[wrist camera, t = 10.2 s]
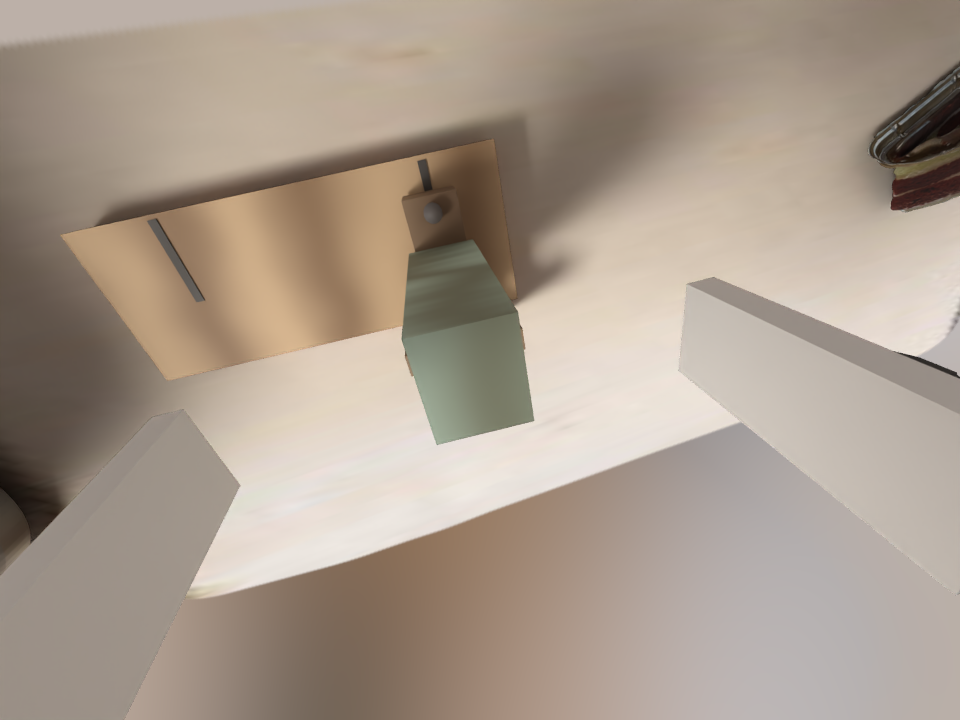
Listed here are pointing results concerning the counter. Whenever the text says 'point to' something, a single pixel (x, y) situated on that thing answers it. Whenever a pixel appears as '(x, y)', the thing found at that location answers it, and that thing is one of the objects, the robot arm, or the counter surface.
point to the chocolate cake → (924, 149)
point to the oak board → (285, 260)
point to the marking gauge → (460, 327)
